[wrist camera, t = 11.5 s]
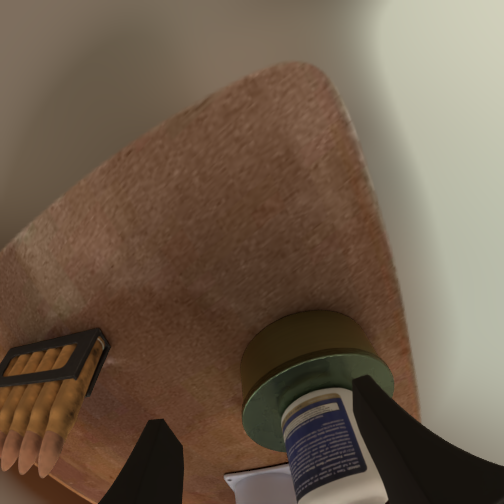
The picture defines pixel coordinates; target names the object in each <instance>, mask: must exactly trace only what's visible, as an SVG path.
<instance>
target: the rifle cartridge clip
mask: <svg viewBox="0 0 504 504" xmlns="http://www.w3.org/2000/svg"><path fill="white" fill-rule="evenodd" d="M110 348H111V347H110V345H109V343H108V342H107V340H106V339H105V337H104V335H103V334H102V332H101V330H100V329H99V328H96V329H92V330H88V331H84V332H80V333H75V334H71V335H67V336H63V337H59V338H55V339H51V340H46V341H42V342H38V343H34V344H29V345H25V346H21V347H16V348H12V349H10V350H9V351H8V353H7V354H6V356H5V357H4V359H3V360H2V362H1V363H0V458H1V467H2V471H7V470H8V469H9V468H10V467H11V466H12V465H13V464H14V462H15V461H16V459H17V458H18V456H19V463H18V465H19V473H20V474H21V475H23V474H25V473H26V472H27V471H28V470H29V469H30V467H31V466H32V465H33V463H34V462H35V460H36V458H37V456H38V455H39V463H38V469H39V475H40V477H42V478H44V477H45V476H47V475H48V474H49V473H50V471H51V470H52V468H53V467H54V465H55V464H56V462H57V460H58V458H59V455H60V453H61V451H62V448H63V445H64V443H65V441H66V438H67V436H68V433H69V432H70V430H71V429H72V427H73V426H74V424H75V421H76V419H77V416H78V413H79V410H80V408H81V405H82V402H83V400H84V397H90V395H91V392H92V390H93V388H94V385H95V383H96V380H97V378H98V375H99V373H100V371H101V368H102V366H103V364H104V361H105V359H106V357H107V354H108V352H109V350H110ZM1 456H2V457H1Z"/></svg>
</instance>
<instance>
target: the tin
mask: <svg viewBox="0 0 504 504" xmlns="http://www.w3.org/2000/svg"><path fill="white" fill-rule="evenodd" d="M240 369H241V381H242V392H243V405H242V411H241V413H242V424H243V427H244V430H245V431H246V433H247V435H248V436H249V437H250V438H251V439H252V440H253V441H254V442H256V443H257V444H259V445H261V446H263V447H265V448H268V449H271V450H275V451H279V452H287V451H286V447H285V442H284V437H283V433H282V426H281V420H282V416H283V414H284V412H285V410H286V409H287V408H288V407H289V406H290V405H291V404H292V403H293V402H294V401H295V400H297V399H298V398H300V397H301V396H303V395H306V394H308V393H310V392H313V391H316V390H320V389H326V388H344V389H348V390H350V391H352V379H355V378H358V377H361V376H364V375H367V374H368V375H370V376H371V377H372V378H373V379H374V381H375V382H376V383H377V384H378V385H379V386H380V387H381V388H382V389H383V390H384V391H385V392H386V393H387V394H388V395H389V396H390V397H391V398H392V396H393V392H394V379H393V375H392V373H391V371H390V369H389V367H388V366H387V364H386V363H385V362H384V361H383V360H382V359H381V358H380V357H379V356H378V355H377V353H376V351H375V350H374V348H373V346H372V345H371V343H370V341H369V339H368V338H367V336H366V334H365V333H364V331H363V330H362V328H361V327H360V326H359V324H357V323H356V322H355V321H354V320H352V319H351V318H349V317H347V316H345V315H343V314H340V313H337V312H333V311H325V310H314V311H305V312H300V313H296V314H293V315H289V316H287V317H284V318H282V319H280V320H278V321H276V322H274V323H272V324H270V325H269V326H267V327H266V328H265V329H263V330H262V331H261V332H260V333H259V334H257V335H256V336H255V338H254V339H253V340H252V341H251V342H250V344H249V345H248V347H247V348H246V350H245V352H244V354H243V357H242V360H241V367H240Z"/></svg>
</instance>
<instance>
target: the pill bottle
mask: <svg viewBox="0 0 504 504" xmlns="http://www.w3.org/2000/svg"><path fill="white" fill-rule="evenodd" d="M281 426H282V433H283V437H284V442H285V447H286V451H287V457H288V461H289V466H290V471H291V476H292V481H293V486H294V491H295V496H296V500H297V504H385V503H386V502H387V501H388V497H387V494H386V490H385V487H384V484H383V482H382V479H381V477H380V475H379V473H378V470H377V468H376V466H375V464H374V462H373V460H372V458H371V456H370V453H369V451H368V449H367V447H366V445H365V443H364V441H363V438H362V436H361V434H360V431H359V429H358V426H357V423H356V420H355V416H354V413H353V396H352V391H350V390H348V389H344V388H326V389H320V390H316V391H313V392H310V393H308V394H306V395H303V396H301V397H300V398H298V399H297V400H295V401H294V402H293V403H292V404H291V405H290V406H289V407H288V408H287V409H286V410H285V412H284V414H283V416H282V420H281Z"/></svg>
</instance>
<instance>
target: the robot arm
mask: <svg viewBox="0 0 504 504" xmlns="http://www.w3.org/2000/svg"><path fill="white" fill-rule="evenodd" d="M352 396H353V413H354V416H355V420H356V423H357V426H358V429H359V431H360V434H361V436H362V438H363V441H364V443H365V445H366V447H367V449H368V451H369V453H370V456H371V458H372V460H373V462H374V464H375V466H376V468H377V470H378V473H379V475H380V477H381V479H382V482H383V484H384V487H385V490H386V494H387V497H388V500H389V503H390V504H504V466H501V465H498V464H495V463H492V462H489V461H486V460H484V459H481V458H479V457H476V456H474V455H472V454H470V453H468V452H466V451H464V450H462V449H460V448H458V447H456V446H454V445H452V444H451V443H449V442H447V441H445V440H444V439H442V438H441V437H439V436H438V435H436V434H434V433H433V432H432V431H430V430H429V429H427V428H426V427H425V426H423V425H422V424H421V423H419V422H418V421H417V420H416V419H414V418H413V417H412V416H411V415H409V414H408V413H407V412H406V411H405V410H404V409H403V408H402V407H400V406H399V405H398V404H397V403H396V402H395V401H394V400H393V399H392V398H391V397H390V396H389V395H388V394H387V393H386V392H385V391H384V390H383V389H382V388H381V387H380V386H379V385H378V384H377V383H376V382H375V381H374V379H373V378H372V377H371V376H370V375H368V374H367V375H364V376H361V377H358V378H355V379H352ZM183 477H184V458H183V446H182V444H181V443H180V442H179V440H178V439H177V438H176V436H175V435H174V433H173V432H172V431H171V429H170V428H169V426H168V425H167V424H166V422H165V421H164V419H155V420H149V421H148V422H147V424H146V426H145V428H144V430H143V432H142V434H141V436H140V438H139V440H138V442H137V443H136V445H135V447H134V449H133V451H132V453H131V455H130V456H129V458H128V460H127V462H126V463H125V465H124V467H123V469H122V470H121V472H120V473H119V475H118V477H117V478H116V480H115V481H114V483H113V484H112V486H111V487H110V489H109V490H108V491H107V493H106V494H105V495H104V497H103V498H102V499H101V501H100V502H99V503H98V504H182V493H183ZM224 479H225V481H226V482H227V483H228V485H229V486H230V487H231V489H232V490H233V491H234V492H235V499H236V504H297V500H296V496H295V491H294V486H293V481H292V476H291V471H290V466H289V464H284V465H280V466H275V467H269V468H264V469H258V470H252V471H246V472H239V473H232V474H226V475H224Z"/></svg>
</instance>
